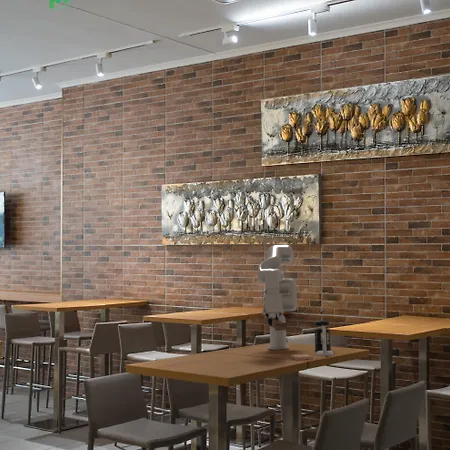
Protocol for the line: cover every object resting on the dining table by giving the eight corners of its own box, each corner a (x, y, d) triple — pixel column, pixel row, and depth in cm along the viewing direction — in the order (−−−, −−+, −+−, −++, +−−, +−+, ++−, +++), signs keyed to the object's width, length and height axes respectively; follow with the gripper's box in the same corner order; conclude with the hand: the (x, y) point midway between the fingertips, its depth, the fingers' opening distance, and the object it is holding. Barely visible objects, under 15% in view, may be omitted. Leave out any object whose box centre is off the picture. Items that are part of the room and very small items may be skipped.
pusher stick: (261, 323, 423) (261, 316, 422) (271, 322, 424) (271, 315, 424) (275, 330, 400) (275, 323, 400) (286, 330, 402) (286, 322, 402)
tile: (290, 355, 401) (296, 357, 392) (305, 354, 404) (312, 356, 394) (290, 358, 401) (296, 361, 392) (306, 357, 403) (312, 360, 394)
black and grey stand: (314, 356, 407) (313, 328, 408) (317, 353, 417) (316, 326, 417) (332, 356, 405) (331, 328, 405) (335, 353, 414) (334, 326, 415)
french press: (319, 349, 435) (317, 309, 436) (334, 350, 430) (332, 310, 431) (310, 351, 425) (309, 311, 426) (326, 352, 420) (324, 311, 421)
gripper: (260, 292, 408) (261, 326, 407) (288, 291, 412) (289, 324, 411) (256, 292, 415) (257, 325, 414) (283, 291, 419) (285, 323, 419)
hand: (273, 324), depth 413 cm, fingers closed on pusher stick, 3 cm apart
